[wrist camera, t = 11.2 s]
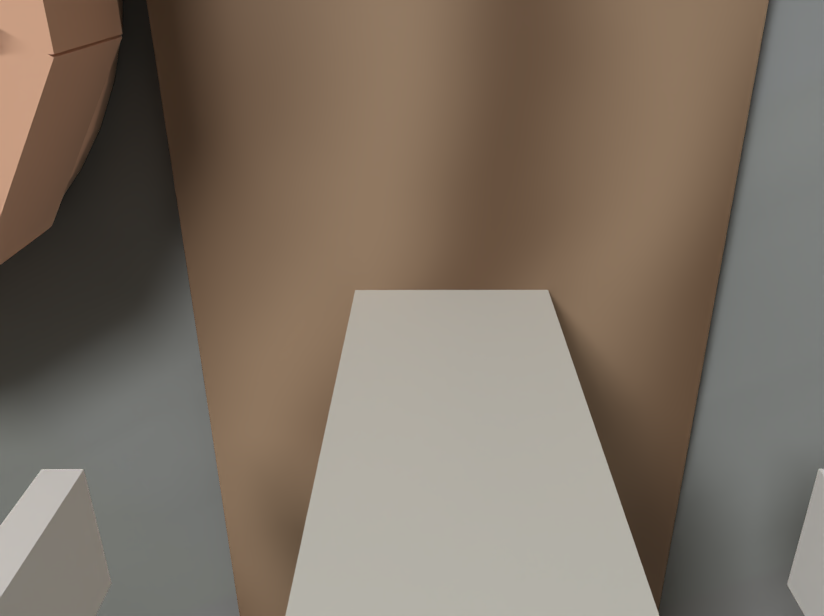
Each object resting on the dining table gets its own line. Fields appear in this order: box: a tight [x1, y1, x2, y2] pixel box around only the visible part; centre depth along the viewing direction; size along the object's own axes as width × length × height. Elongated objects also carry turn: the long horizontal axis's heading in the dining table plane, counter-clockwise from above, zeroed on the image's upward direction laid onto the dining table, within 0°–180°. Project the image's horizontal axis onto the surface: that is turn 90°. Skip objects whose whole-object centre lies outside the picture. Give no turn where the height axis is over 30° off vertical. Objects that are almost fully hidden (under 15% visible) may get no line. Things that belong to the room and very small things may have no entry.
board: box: [146, 0, 769, 616], centre depth 19 cm, size 12×19×1 cm, turn 1°
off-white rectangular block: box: [285, 290, 659, 616], centre depth 14 cm, size 4×5×10 cm
